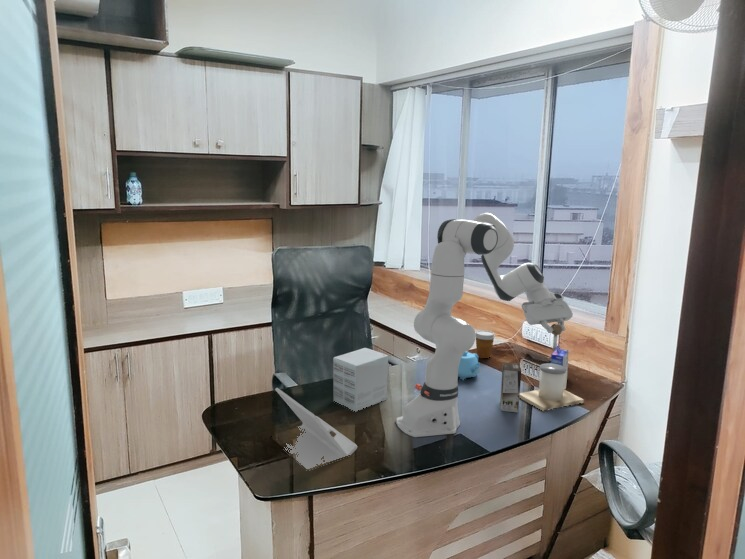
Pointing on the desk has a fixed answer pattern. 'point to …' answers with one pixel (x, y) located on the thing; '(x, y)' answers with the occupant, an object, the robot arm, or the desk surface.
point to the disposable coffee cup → (484, 343)
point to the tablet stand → (316, 438)
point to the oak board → (544, 404)
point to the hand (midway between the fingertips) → (557, 331)
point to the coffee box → (510, 387)
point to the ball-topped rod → (556, 333)
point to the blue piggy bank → (468, 365)
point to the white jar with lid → (552, 381)
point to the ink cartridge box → (560, 357)
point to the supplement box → (360, 378)
